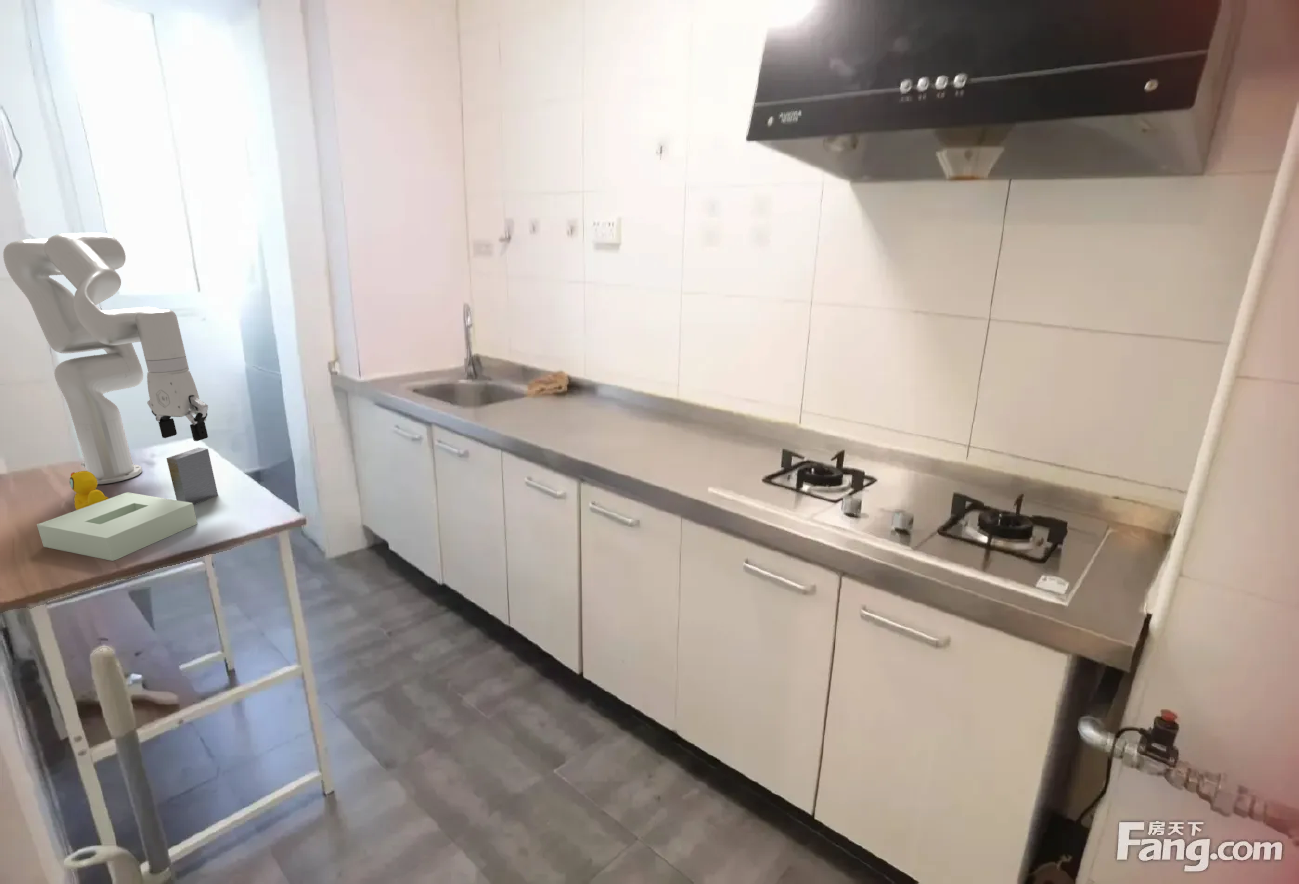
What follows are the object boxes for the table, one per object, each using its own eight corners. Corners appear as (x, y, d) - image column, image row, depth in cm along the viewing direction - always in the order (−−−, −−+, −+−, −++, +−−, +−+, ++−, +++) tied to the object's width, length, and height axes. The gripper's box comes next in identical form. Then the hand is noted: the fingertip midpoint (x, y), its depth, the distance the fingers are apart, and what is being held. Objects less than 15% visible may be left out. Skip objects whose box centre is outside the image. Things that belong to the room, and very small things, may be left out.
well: (43, 546, 136) (36, 524, 134) (132, 512, 152) (126, 492, 151) (113, 560, 130) (106, 538, 129) (197, 523, 146) (192, 503, 145)
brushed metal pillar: (177, 506, 156) (166, 458, 152) (208, 493, 163) (198, 447, 159) (187, 507, 155) (176, 459, 151) (218, 494, 162) (207, 448, 158)
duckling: (68, 511, 152) (56, 471, 149) (96, 503, 157) (84, 464, 154) (90, 522, 147) (78, 480, 144) (118, 514, 151) (107, 473, 148)
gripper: (123, 367, 148) (142, 440, 153) (180, 370, 143) (198, 445, 148) (156, 361, 155) (173, 430, 160) (211, 363, 149) (227, 436, 155)
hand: (185, 437), depth 154 cm, fingers open, 9 cm apart
